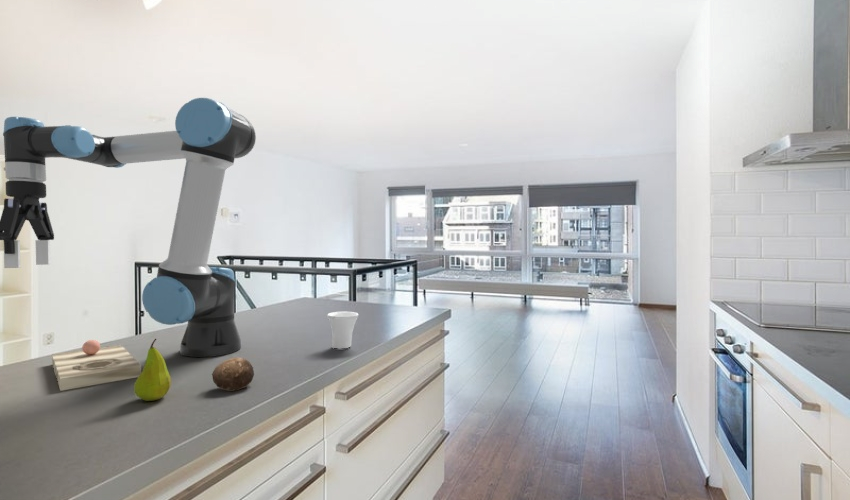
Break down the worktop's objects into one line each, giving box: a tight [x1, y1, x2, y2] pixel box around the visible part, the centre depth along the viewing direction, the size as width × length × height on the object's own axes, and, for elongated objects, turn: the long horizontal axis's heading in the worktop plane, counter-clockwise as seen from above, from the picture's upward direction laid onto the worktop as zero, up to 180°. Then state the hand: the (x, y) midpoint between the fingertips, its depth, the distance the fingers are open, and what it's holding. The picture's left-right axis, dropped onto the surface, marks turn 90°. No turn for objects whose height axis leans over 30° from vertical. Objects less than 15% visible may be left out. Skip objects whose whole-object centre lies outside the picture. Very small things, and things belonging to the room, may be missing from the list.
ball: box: [81, 339, 101, 355], centre depth 106 cm, size 4×4×4 cm
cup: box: [326, 311, 359, 349], centre depth 126 cm, size 9×9×10 cm
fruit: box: [133, 338, 172, 402], centre depth 85 cm, size 6×6×12 cm
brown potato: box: [211, 357, 255, 392], centre depth 93 cm, size 8×8×6 cm
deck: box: [51, 344, 142, 392], centre depth 102 cm, size 24×14×2 cm, turn 44°
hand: (28, 266), depth 110 cm, fingers open, 13 cm apart
